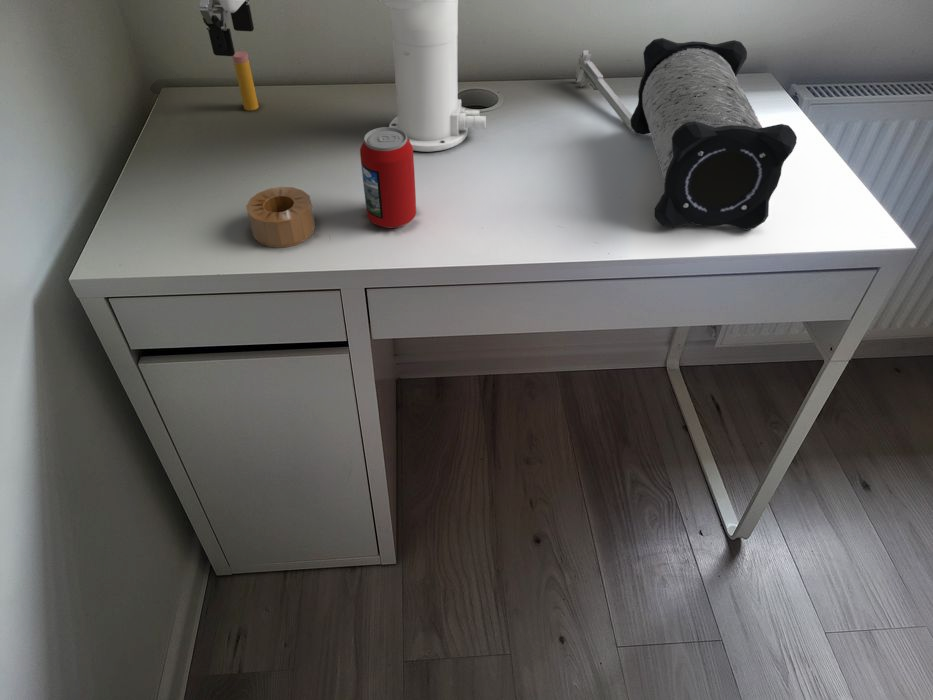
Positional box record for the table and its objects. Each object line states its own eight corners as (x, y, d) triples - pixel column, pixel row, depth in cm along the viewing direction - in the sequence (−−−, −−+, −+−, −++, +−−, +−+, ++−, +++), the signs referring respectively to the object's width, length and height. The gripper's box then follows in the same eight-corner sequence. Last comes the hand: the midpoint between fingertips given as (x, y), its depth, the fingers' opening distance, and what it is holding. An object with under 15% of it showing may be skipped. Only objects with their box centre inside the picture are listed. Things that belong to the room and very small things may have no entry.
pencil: (260, 104, 121) (249, 51, 114) (256, 111, 119) (244, 57, 113) (246, 103, 121) (234, 50, 115) (242, 110, 119) (229, 57, 113)
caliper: (574, 82, 127) (578, 47, 123) (579, 82, 128) (584, 46, 123) (635, 134, 114) (642, 97, 110) (640, 133, 114) (648, 96, 110)
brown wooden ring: (321, 213, 98) (317, 188, 95) (306, 249, 92) (301, 223, 89) (263, 210, 98) (257, 185, 96) (245, 245, 93) (238, 220, 90)
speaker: (719, 130, 114) (747, 36, 104) (765, 237, 94) (806, 133, 84) (626, 127, 115) (644, 33, 104) (653, 233, 95) (679, 129, 84)
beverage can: (367, 205, 99) (358, 125, 91) (415, 203, 100) (411, 123, 91) (367, 233, 95) (357, 151, 86) (417, 231, 95) (413, 149, 87)
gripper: (214, -61, 94) (241, 67, 106) (253, -95, 106) (273, 23, 118) (159, -63, 94) (192, 64, 107) (204, -98, 107) (229, 20, 119)
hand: (234, 42), depth 112 cm, fingers open, 9 cm apart
